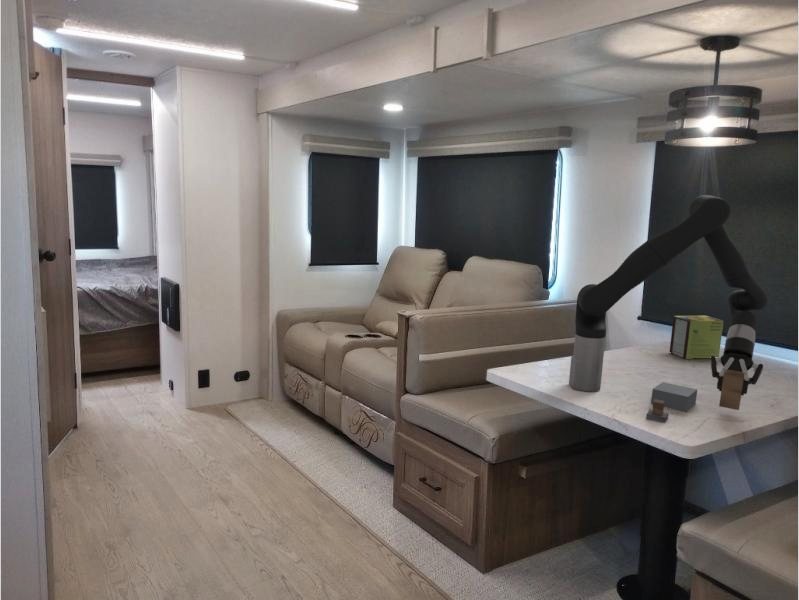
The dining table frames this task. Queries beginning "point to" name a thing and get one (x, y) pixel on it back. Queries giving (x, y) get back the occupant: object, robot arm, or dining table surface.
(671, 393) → the slate base block
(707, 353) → the protein box
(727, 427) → the dining table surface
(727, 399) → the walnut block
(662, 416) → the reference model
